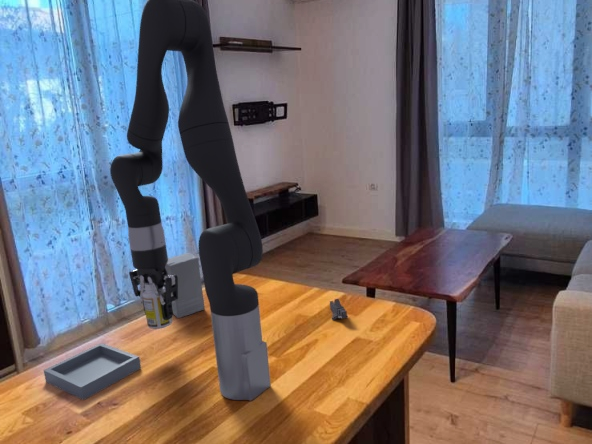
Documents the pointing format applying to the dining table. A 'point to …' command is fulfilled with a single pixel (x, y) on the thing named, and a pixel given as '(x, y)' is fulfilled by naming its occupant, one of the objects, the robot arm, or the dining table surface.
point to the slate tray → (92, 370)
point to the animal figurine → (337, 310)
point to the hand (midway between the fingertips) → (159, 316)
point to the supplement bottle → (154, 309)
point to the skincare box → (186, 284)
